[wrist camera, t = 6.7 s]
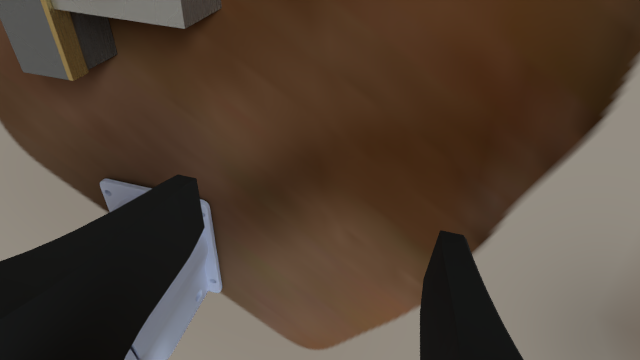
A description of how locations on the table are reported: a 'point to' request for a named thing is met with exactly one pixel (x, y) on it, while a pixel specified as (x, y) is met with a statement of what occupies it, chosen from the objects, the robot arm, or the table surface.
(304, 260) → the table surface
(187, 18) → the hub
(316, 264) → the table surface
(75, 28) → the end block
